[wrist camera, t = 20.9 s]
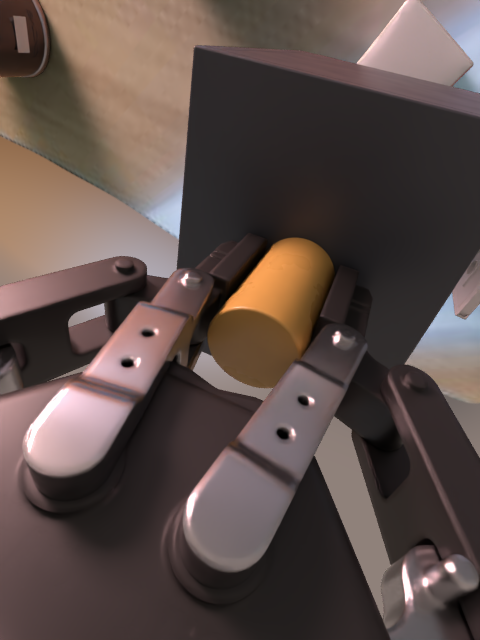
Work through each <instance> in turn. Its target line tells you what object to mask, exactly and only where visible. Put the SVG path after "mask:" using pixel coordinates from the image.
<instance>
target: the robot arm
mask: <svg viewBox="0 0 480 640" xmlns="http://www.w3.org/2000/svg"><path fill="white" fill-rule="evenodd" d="M49 56H50V35H49V29H48V25H47V21H46V18H45V15H44V13H43V10H42V8H41V6H40V4H39V2H38V0H0V77H35V76H37V75H39V74H40V73H42V72H43V70H44V69H45V67H46V65H47V63H48V60H49ZM266 246H267V239H265V238H262V237H260V236H257V235H254V234H251V233H248V234H247V235H246V236H245V237H244V238H243V239H242V240H241V241H240V242H239V243H238V242H235V241H232V240H231V241H228V242H225V243H222V244H221V245H219V246H218V247H217V248H216V249H215V251H213V252H212V253H211V254H210V256H208V257H207V258H206V259H204V260H203V261H202V262H201V263H200V264H199V265H198V266H197V267H196V268H182V269H179V270H176V271H175V272H173V274H172V275H171V276H170V277H169V278H161V277H156V276H150V275H147V266H146V264H145V263H144V262H142V261H141V260H139V259H137V258H133V257H128V256H119V257H113V258H109V259H105V260H101V261H97V262H93V263H89V264H85V265H81V266H77V267H73V268H70V269H65V270H62V271H58V272H54V273H50V274H46V275H42V276H38V277H34V278H30V279H26V280H22V281H18V282H14V283H10V284H6V285H2V286H0V640H480V458H479V456H478V455H477V453H476V451H475V449H474V448H473V446H472V444H471V442H470V441H469V439H468V438H467V436H466V434H465V432H464V431H463V429H462V427H461V425H460V423H459V422H458V420H457V418H456V417H455V415H454V413H453V411H452V410H451V408H450V406H449V405H448V403H447V401H446V399H445V398H444V396H443V394H442V392H441V391H440V389H439V387H438V385H437V384H436V383H435V381H434V380H433V379H432V378H431V377H430V376H429V375H427V374H426V373H425V372H423V371H422V370H420V369H418V368H415V367H413V366H409V365H402V364H400V365H395V366H393V367H392V368H391V369H388V368H387V367H385V366H384V365H382V364H381V363H379V362H378V361H376V360H375V359H374V358H373V357H372V356H371V355H370V354H369V352H368V351H367V341H366V339H365V334H366V330H367V325H368V320H369V314H370V310H371V305H372V301H373V298H372V296H371V293H370V291H369V289H366V288H364V287H361V286H358V285H356V282H357V278H358V275H359V271H357V270H354V269H351V268H348V267H345V266H342V265H340V267H339V269H338V272H337V274H336V277H335V279H334V282H333V284H332V287H331V289H330V292H329V294H328V297H327V299H326V302H325V304H324V307H323V309H322V312H321V314H320V317H319V319H318V322H317V324H316V327H315V329H314V332H313V334H312V337H311V341H310V345H309V347H308V349H307V351H306V352H305V354H304V355H303V356H302V358H301V359H298V358H296V359H295V360H294V361H293V363H292V364H291V365H290V367H289V368H288V369H287V371H286V372H285V373H284V375H283V376H282V377H281V379H280V380H279V381H278V383H277V384H276V385H275V387H274V388H273V389H272V391H271V392H270V394H269V395H268V396H267V398H266V399H265V400H264V401H262V400H260V399H257V398H256V397H251V396H246V395H242V394H237V393H232V392H228V391H223V390H219V389H217V388H215V387H213V386H212V385H211V384H209V383H208V382H207V381H205V380H204V379H203V378H201V377H200V376H199V375H197V374H196V373H194V372H193V369H194V367H195V365H196V362H197V360H198V358H199V356H200V354H201V352H202V349H203V347H204V343H205V339H206V338H207V334H208V328H209V325H210V323H211V321H212V319H213V318H214V317H215V315H216V314H217V313H218V312H219V310H220V309H221V308H222V307H223V305H224V304H225V303H226V302H227V300H228V299H229V298H230V297H231V295H232V294H233V293H234V292H235V290H236V289H237V288H238V287H239V285H240V284H241V283H242V282H243V280H244V279H245V278H246V277H247V275H248V274H249V273H250V272H251V270H252V269H253V268H254V267H255V265H256V264H257V263H258V262H259V260H260V259H261V258H262V257H263V255H264V254H265V250H266ZM102 303H104V306H105V315H103V316H100V317H98V318H95V319H92V320H89V321H86V322H83V323H80V324H77V325H74V326H72V327H69V328H68V321H69V319H70V317H71V316H72V315H73V314H74V313H76V312H78V311H81V310H84V309H87V308H90V307H93V306H96V305H99V304H102ZM87 364H89V365H88V367H87V368H86V369H85V370H84V372H80V373H77V374H73V375H70V376H66V377H62V378H59V379H56V380H52V381H49V380H51V379H54V378H56V377H59V376H61V375H63V374H66V373H68V372H70V371H73V370H75V369H78V368H80V367H82V366H84V365H87ZM47 381H48V382H47ZM334 416H335V417H336V418H337V419H339V420H340V421H342V422H343V423H344V424H345V425H347V426H348V427H349V428H351V429H352V440H353V443H354V446H355V450H356V453H357V456H358V459H359V463H360V466H361V469H362V473H363V476H364V479H365V482H366V486H367V488H368V492H369V495H370V498H371V502H372V505H373V508H374V512H375V515H376V518H377V521H378V525H379V528H380V531H381V534H382V538H383V541H384V544H385V548H386V551H387V554H388V557H389V560H390V564H391V566H390V567H389V568H388V569H387V570H386V571H385V573H384V575H383V578H382V582H381V594H382V599H383V606H384V607H383V609H384V614H383V619H382V617H381V615H380V613H379V610H378V608H377V605H376V602H375V600H374V598H373V595H372V593H371V590H370V588H369V586H368V583H367V581H366V578H365V576H364V574H363V571H362V569H361V566H360V564H359V561H358V559H357V557H356V554H355V552H354V549H353V547H352V545H351V542H350V540H349V537H348V535H347V533H346V530H345V528H344V525H343V523H342V520H341V518H340V516H339V513H338V511H337V508H336V506H335V504H334V501H333V499H332V496H331V494H330V491H329V489H328V487H327V484H326V482H325V479H324V477H323V475H322V472H321V470H320V467H319V465H318V463H317V460H316V458H315V456H314V454H315V452H316V450H317V448H318V446H319V444H320V442H321V440H322V438H323V436H324V434H325V432H326V430H327V428H328V426H329V425H330V422H331V420H332V419H333V417H334Z"/></svg>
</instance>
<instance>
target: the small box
mask: <svg viewBox="0 0 480 640" xmlns="http://www.w3.org/2000/svg"><path fill="white" fill-rule="evenodd" d="M357 64H359V65H363V66H367V67H372V68H376V69H380V70H384V71H388V72H393V73H397V74H401V75H405V76H409V77H413V78H418V79H422V80H426V81H430V82H434V83H438V84H443V85H447V86H451V87H452V86H453V85H454V84H455V83H456V82H457V81H458V80H459V79H460V78H461V77H462V76H463V75H464V74H465V73H466V72H467V71H468V70H469V69H470V68H471V67H472V66H473V62H472V60H471V59H470V58H469V57H468V56H467V54H466V53H465V52H464V51H463V50H462V48H461V47H460V46H459V45H458V44H457V43H456V41H455V40H454V39H453V38H452V37H451V36H450V34H449V33H448V32H447V31H446V30H445V29H444V27H443V26H442V25H441V24H440V23H439V22H438V20H437V19H436V18H435V17H434V16H433V15H432V13H431V12H430V11H429V10H428V9H427V8H426V7H425V5H424V4H423V3H422V2H421V1H420V0H406V1H405V3H404V4H403V5H402V7H401V8H400V9H399V11H398V12H397V14H396V15H395V16H394V17H393V19H392V20H391V21H390V23H389V24H388V25H387V26H386V28H385V29H384V30H383V31H382V33H381V34H380V35H379V36H378V38H377V39H376V40H375V41H374V43H373V44H372V45H371V46H370V48H369V49H368V50H367V51H366V53H365V54H364V55H363V56H362V58H361V59H360V60H359V61H358V63H357Z"/></svg>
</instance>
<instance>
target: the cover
mask: <svg viewBox="0 0 480 640" xmlns="http://www.w3.org/2000/svg"><path fill="white" fill-rule="evenodd" d="M248 233H251V234H254V235H257V236H260V237H262V238H265V239H267V246H266V250H265V254H264V255H263V257H262V258H261V259H260V260H259V262H258V263H257V264H256V265H255V267H254V268H253V269H252V270H251V272H250V273H249V274H248V275H247V277H246V278H245V279H244V280H243V282H242V283H241V284H240V285H239V287H238V288H237V289H236V290H235V292H234V293H233V294H232V295H231V297H230V298H229V299H228V300H227V302H226V303H225V304H224V305H223V307H222V308H221V309H220V310H219V312H218V313H217V314H216V315H215V317H214V318H213V319H212V321H211V323H210V325H209V328H208V334H207V338H206V339H205V343H204V347H203V349H202V352H204V353H207V354H209V355H212V356H213V358H214V359H215V361H216V362H217V364H218V365H219V366H220V367H221V368H222V369H223V370H224V371H225V372H226V373H227V374H229V375H230V376H232V377H233V378H234V379H236V380H238V381H240V382H242V383H244V384H247V385H250V386H253V387H258V388H274V387H275V385H276V384H277V383H278V381H279V380H280V379H281V377H282V376H283V375H284V373H285V372H286V371H287V369H288V368H289V367H290V365H291V364H292V363H293V361H294V360H295V359H296V358H298V359H301V358H302V356H303V355H304V354H305V352H306V351H307V349H308V347H309V345H310V341H311V337H312V334H313V332H314V329H315V327H316V324H317V322H318V319H319V317H320V314H321V312H322V309H323V307H324V304H325V302H326V299H327V297H328V294H329V292H330V289H331V287H332V284H333V282H334V279H335V277H336V274H337V272H338V269H339V267H340V265H342V266H345V267H348V268H351V269H354V270H357V271H359V275H358V278H357V282H356V285H358V286H361V287H364V288H366V289H369V291H370V293H371V296H372V298H373V301H372V305H371V310H370V314H369V320H368V325H367V330H366V334H365V339H366V341H367V351H368V352H369V354H370V355H371V356H372V357H373V358H374V359H375V360H376V361H378V362H379V363H381V364H382V365H384V366H385V367H387V368H388V369H391V368H392V367H393V366H395V365H400V364H402V365H404V364H405V362H406V361H407V359H408V358H409V356H410V355H411V353H412V352H413V350H414V349H415V347H416V346H417V344H418V343H419V341H420V340H421V338H422V337H423V335H424V333H425V332H426V330H427V329H428V327H429V326H430V324H431V323H432V321H433V320H434V318H435V317H436V315H437V314H438V312H439V311H440V309H441V308H442V306H443V305H444V303H445V302H446V300H447V299H448V297H449V296H450V294H451V293H452V291H453V289H454V288H455V286H456V285H457V283H458V282H459V280H460V279H461V277H462V276H463V274H464V273H465V271H466V270H467V268H468V267H469V265H470V264H471V262H472V261H473V259H474V258H475V256H476V255H477V253H478V252H479V250H480V93H474V92H472V91H468V90H464V89H459V88H455V87H451V86H447V85H443V84H438V83H434V82H430V81H426V80H422V79H418V78H413V77H409V76H405V75H401V74H397V73H393V72H388V71H384V70H380V69H376V68H372V67H367V66H363V65H359V64H355V63H351V62H347V61H342V60H338V59H334V58H330V57H326V56H322V55H317V54H313V53H309V52H305V51H298V50H279V49H260V48H241V47H222V46H200V45H196V46H195V47H194V56H193V69H192V81H191V94H190V107H189V120H188V132H187V145H186V158H185V171H184V184H183V196H182V209H181V222H180V235H179V248H178V260H177V270H179V269H182V268H196V267H197V266H198V265H199V264H200V263H201V262H202V261H203V260H204V259H206V258H207V257H208V256H210V254H211V253H212V252H213V251H215V249H216V248H217V247H218V246H219V245H221V244H222V243H225V242H228V241H231V240H232V241H235V242H238V243H239V242H240V241H241V240H242V239H243V238H244V237H245V236H246V235H247V234H248Z"/></svg>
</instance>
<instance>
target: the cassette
mask: <svg viewBox="0 0 480 640" xmlns="http://www.w3.org/2000/svg"><path fill="white" fill-rule="evenodd" d="M452 294H453V302H454V311H455V315H456V316H458V317H460V318H462V319H467V317H468V316H469V315H470V314H471V313H472V312H473V311H474V310H475V309H476V307H477V306H478V305H479V304H480V250H479V252H478V253H477V255H476V256H475V258H474V259H473V261H472V262H471V264H470V265H469V267H468V268H467V270H466V271H465V273H464V274H463V276H462V277H461V279H460V280H459V282H458V283H457V285H456V286H455V288H454V289H453V291H452Z"/></svg>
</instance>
